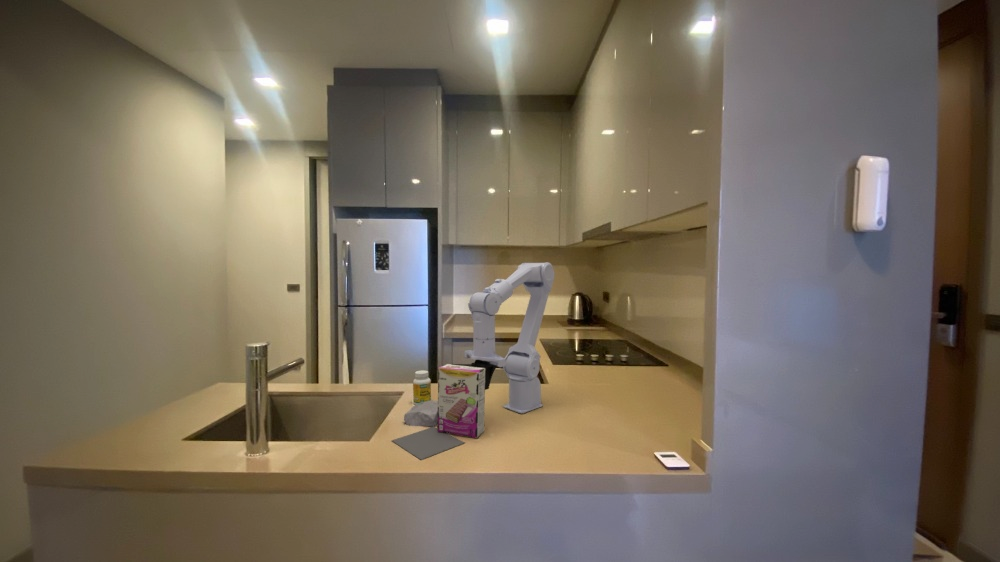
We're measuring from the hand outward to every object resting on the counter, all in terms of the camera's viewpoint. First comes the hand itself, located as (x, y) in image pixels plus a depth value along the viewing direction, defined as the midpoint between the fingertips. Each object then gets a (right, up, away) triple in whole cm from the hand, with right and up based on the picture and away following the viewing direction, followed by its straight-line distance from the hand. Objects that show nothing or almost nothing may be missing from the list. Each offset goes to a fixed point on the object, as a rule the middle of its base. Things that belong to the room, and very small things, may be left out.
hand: (484, 389), depth 105 cm
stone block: (-16, -10, +5) cm, 20 cm away
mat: (-13, -10, -10) cm, 19 cm away
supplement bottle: (-20, -9, +17) cm, 28 cm away
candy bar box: (-6, -10, -5) cm, 12 cm away
